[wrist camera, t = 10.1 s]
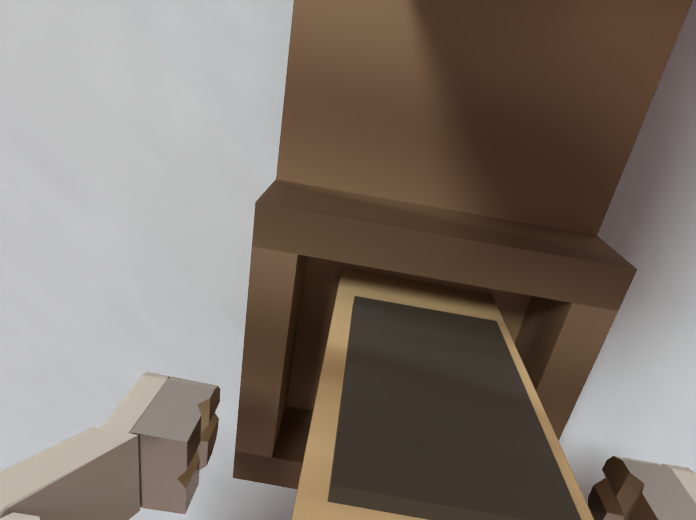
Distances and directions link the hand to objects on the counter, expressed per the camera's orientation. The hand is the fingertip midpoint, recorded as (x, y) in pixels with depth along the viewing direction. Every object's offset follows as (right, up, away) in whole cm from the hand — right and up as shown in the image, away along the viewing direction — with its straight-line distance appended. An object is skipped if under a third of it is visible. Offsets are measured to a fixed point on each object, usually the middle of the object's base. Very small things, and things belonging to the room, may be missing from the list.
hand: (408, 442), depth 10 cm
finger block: (0, +1, +3) cm, 4 cm away
